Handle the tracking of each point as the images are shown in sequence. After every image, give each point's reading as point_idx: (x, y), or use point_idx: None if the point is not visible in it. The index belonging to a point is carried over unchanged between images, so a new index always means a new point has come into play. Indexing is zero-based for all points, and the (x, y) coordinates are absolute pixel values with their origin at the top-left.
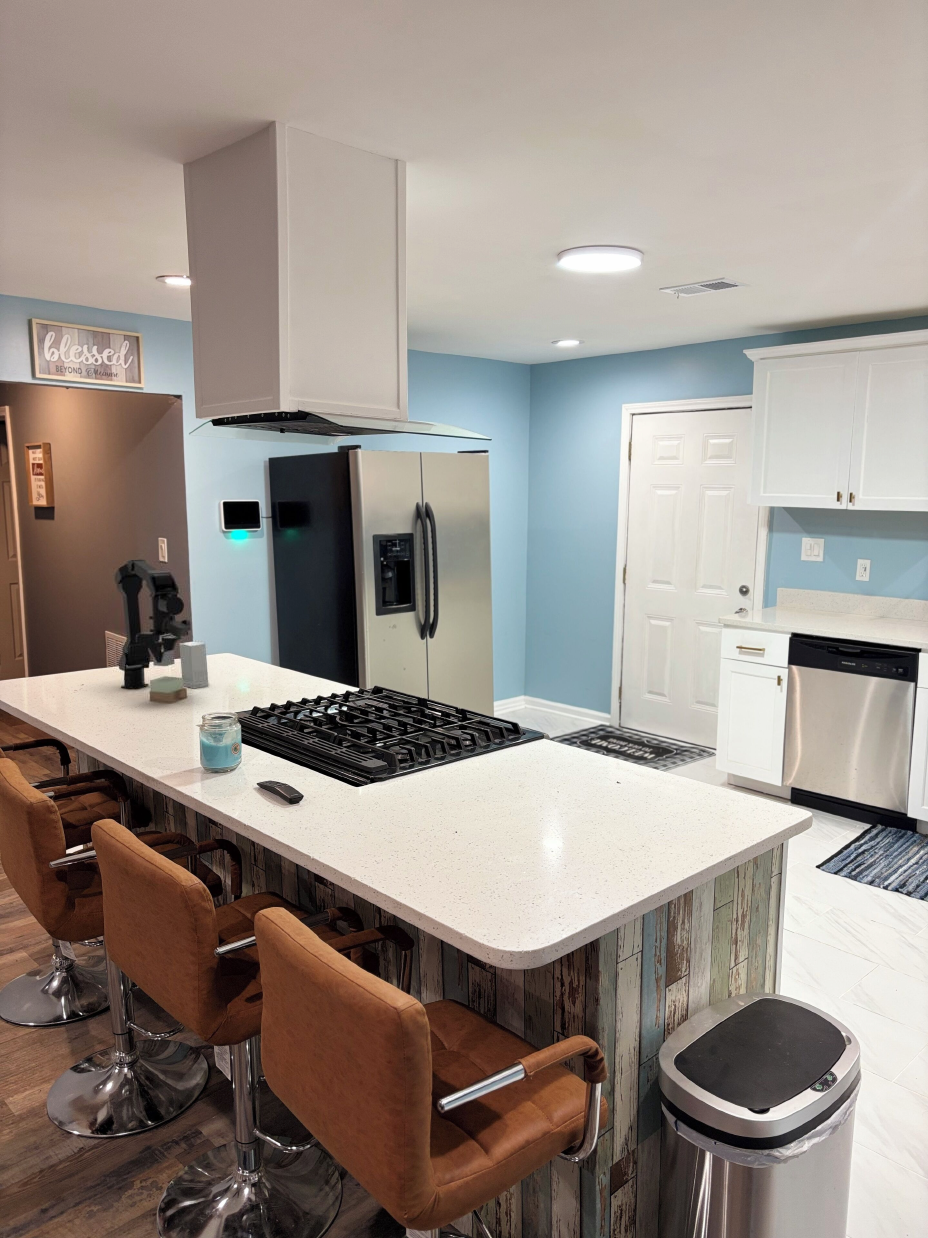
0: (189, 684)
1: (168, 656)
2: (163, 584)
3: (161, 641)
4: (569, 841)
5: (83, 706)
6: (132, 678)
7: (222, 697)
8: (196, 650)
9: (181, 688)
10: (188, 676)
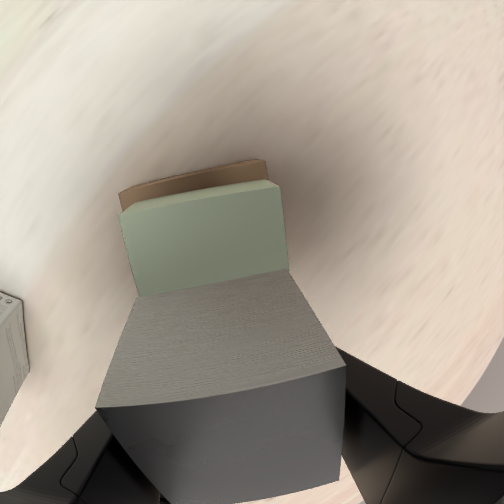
0: (19, 332)
1: (238, 335)
2: None
3: (500, 502)
4: None
5: (412, 374)
6: None
7: (51, 63)
8: None
9: (149, 199)
10: (6, 354)
